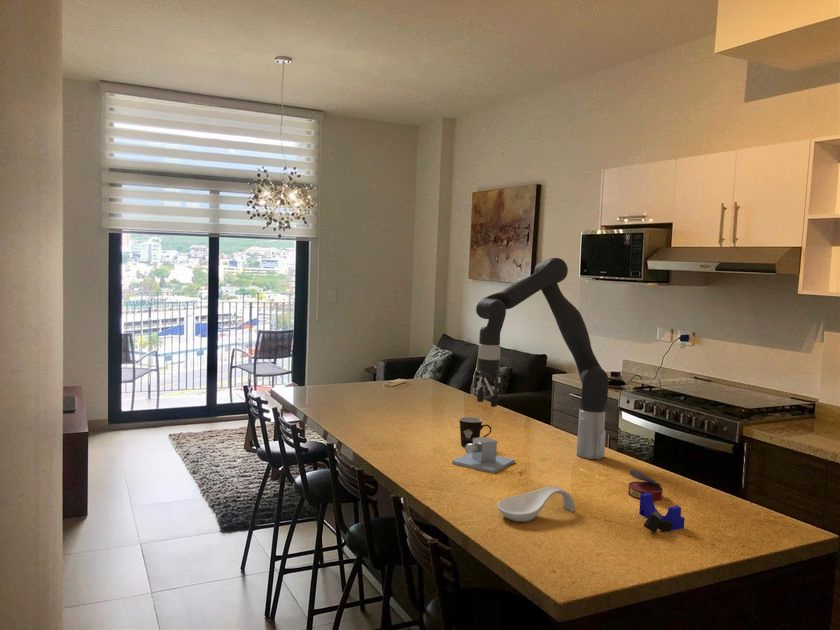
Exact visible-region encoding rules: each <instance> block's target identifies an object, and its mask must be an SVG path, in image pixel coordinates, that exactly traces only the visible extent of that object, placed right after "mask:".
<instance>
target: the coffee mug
mask: <svg viewBox="0 0 840 630" xmlns="http://www.w3.org/2000/svg"><path fill="white" fill-rule="evenodd" d="M458 419H459V431H460V432H459V433H460V444H461V446H462V447H463V448H465V446H466V444H473V438H480V436H481V431H482V429H483V428H484V427H488V428H489V432H488V433H486V434H485V435H483V436H482V437H489V435H490V434H491V433H492V426H490V425H489V424H482V423H483V419H482V418H478V417H475V416H464V417H460V418H458Z"/></svg>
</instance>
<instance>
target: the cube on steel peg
mask: <svg viewBox="0 0 840 630" xmlns="http://www.w3.org/2000/svg"><path fill="white" fill-rule="evenodd" d="M497 446H498V441H497V440H496V439H494V438H491V437H489V436H486V437H483V436H482V437H479V438H473V444H466V446H465V447H464V449H465V452H466V454H469V453H472V459H474V460H476V461H478V462H480V463H489V462H496V456H497V449H498V448H497Z"/></svg>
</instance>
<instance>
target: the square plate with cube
mask: <svg viewBox="0 0 840 630" xmlns="http://www.w3.org/2000/svg"><path fill="white" fill-rule="evenodd" d="M515 463H516V461H515V459H514V458H510V457H504V456H501V455H496V462H489V463H480V462H478V461H476V460H474V459H472V453H469V454H468V453H465V454H464V455H462V456H459V457H456V459H453V460H452V461H451V464H453V465H457V466H459V467H465V468H470V469H474V470H479V471H483V472H486V473H487V472H488V473H492V474H495V473H498V472H499V471H501V470H503V469H504V468H507V467H509V466H510V465H512V464H515Z"/></svg>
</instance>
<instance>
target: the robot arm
mask: <svg viewBox="0 0 840 630" xmlns="http://www.w3.org/2000/svg"><path fill="white" fill-rule="evenodd" d="M568 271H569V268H568V265H567V263H566V262H565V260H563V258H560V257H552V258H549V259H545V260H543V261H541V262H538V263H537V264H536V265H535V267H534V271H533V274H531V275H529V276H527V277H525V278H522V279H520V280H518V281H516V282H514V283H512V284H511V285H509V286H507V287H505V288H504V289H503V290H501V291H498V292H495V293H493V294H489V295H488V296H485V297H484V298H482V299H480V301H478V303H477V304H476V307H475V309H476V310H475V312H476V315H478V317H479V318H481V319H484V320H487V323H486V326H482V327H481V328H480V329H479V340H478V344H479V345H478V350H477V367H476V368H477V371H476V370H475V371H474V377H473V388H474V389H476V392H477V396H476V401H477V402H478V403H482V402H484V397H485V392H484V390H485V388H487V390H488V391H489V393H490V407H492V408H496V407H497V406H498V400H499V399H498V398H499V396H501V395H503V377H502V376H497V373H499V372H500V370H501V369H500V368H501V367H500V365H501V363H500V362H501V361H500V360H501V332H502V329H503V326H504V322H505V319H506V315H507V310H511V309H513V308H515V307H516V306H518V305H520V304H521V303H522V302H524V301H526V300H527V299H529V298H530V297H532V296H533V295H535V294H536V293H538V292H539V291H541V292H542V294H543V296H544V297H545V300H546V302H547V303H548V306H549V309H550V310H551V312H552V315H553V316H554V319H555V322H556V325H557V327H558V330H559V331H560V334H561V337H562V339H563V341H564V342H565V344H566V346H567V348H568V351H570V353H571V355H572V357H573V359H574V362H575V364H576V369H577V371H578V375H579V379H580V383H581V385H582V386H581V396H580V397H581V398H580V401H579V411H578V425H577V442H576V443H577V444H576V455H577V457H579V458H583V459H589V460H597V461H598V460H601V459H603V457H605V452H606V451H605V449H606V447H605V446H606V433H607V431H606V430H605V425H606V424H605V419H606V408H607V407H606V406H607V403H608V395H609V385H610V384H609V382H610V381H609V375H608V374H607V372H606V371H605V370H604V368H602V366H601V365H600V363H599V362H598V359H597V357H596V356H595V353H594V351H593V348H592V344H591V340H590V336H589V332H588V328H587V325H586V323H585V321H584V318H583V316H582V314H581V312H580V311H579V310H578V309H577V307H576V306H575V305H573V303H572V302H570V301H569V300H568V299H567V298H566V297H565V296H564V294H563V293H562V290H561V289H560V287H559V283H561V282H562V281H564V280H565V279H566V278H567V276H568V273H569V272H568Z"/></svg>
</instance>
